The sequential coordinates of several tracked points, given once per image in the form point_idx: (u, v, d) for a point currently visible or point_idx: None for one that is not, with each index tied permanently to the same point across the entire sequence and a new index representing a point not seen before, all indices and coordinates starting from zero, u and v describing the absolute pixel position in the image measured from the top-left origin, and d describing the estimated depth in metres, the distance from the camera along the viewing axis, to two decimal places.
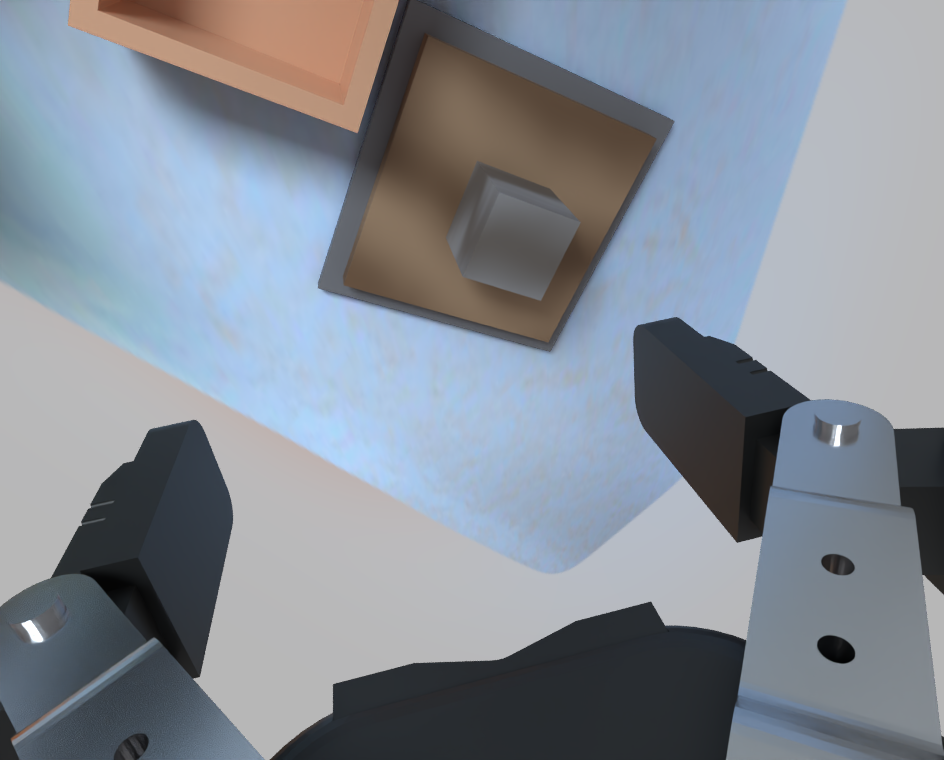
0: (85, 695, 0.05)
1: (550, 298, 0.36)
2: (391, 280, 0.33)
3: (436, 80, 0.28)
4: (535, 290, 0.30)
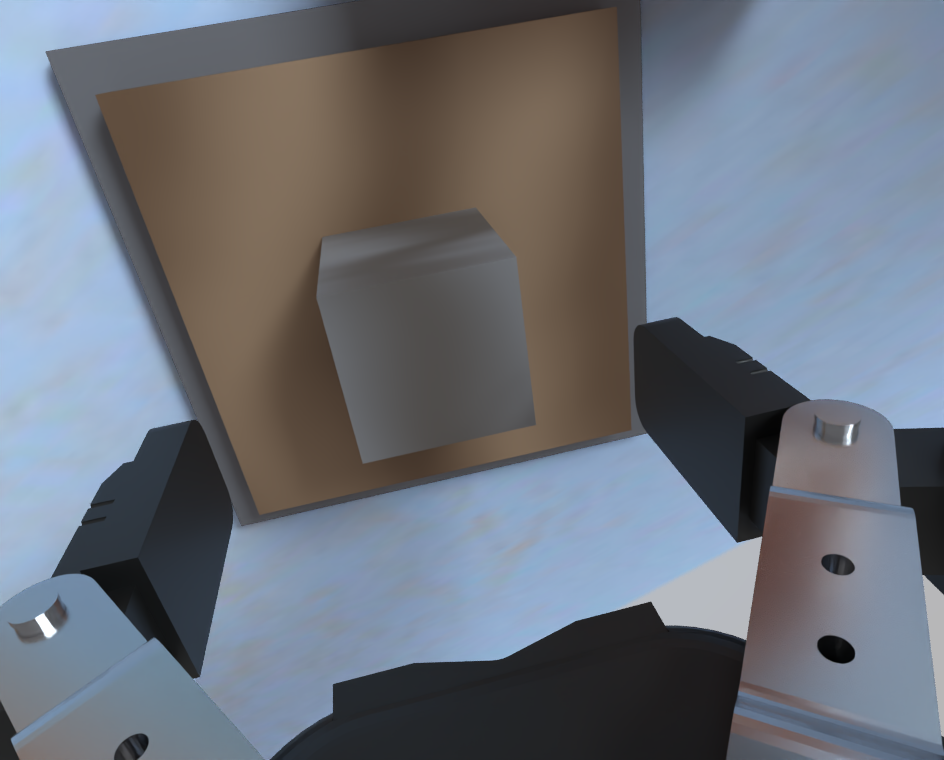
0: (85, 695, 0.05)
1: (333, 465, 0.20)
2: (176, 187, 0.15)
3: (560, 61, 0.16)
4: (375, 441, 0.14)
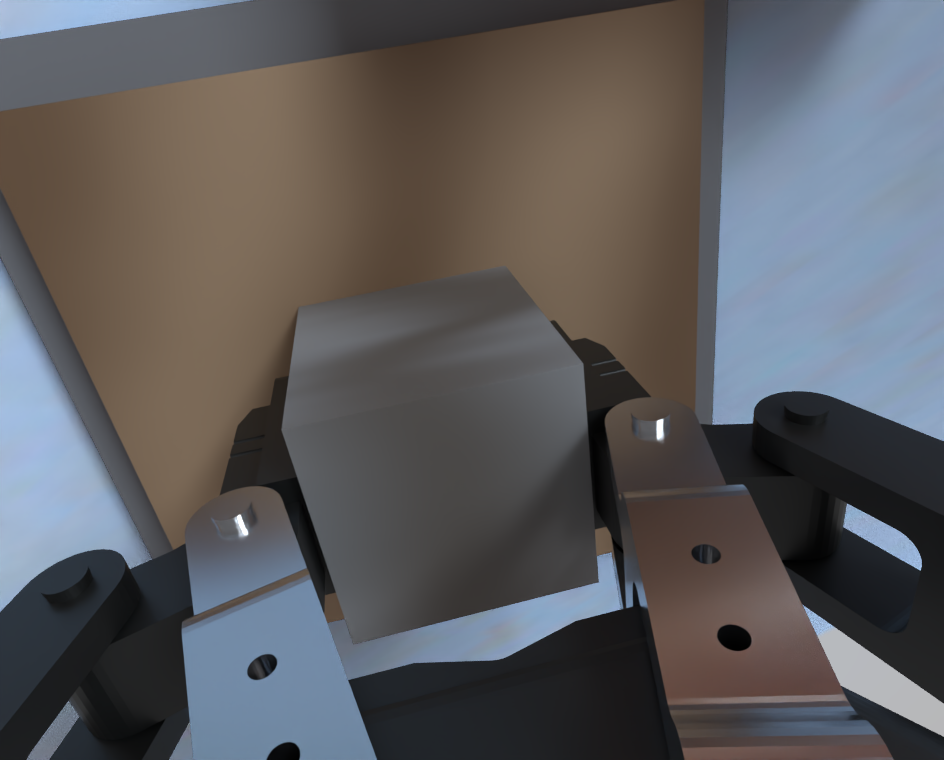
0: (241, 604, 0.06)
1: None
2: (92, 244, 0.11)
3: (624, 70, 0.11)
4: (371, 615, 0.10)
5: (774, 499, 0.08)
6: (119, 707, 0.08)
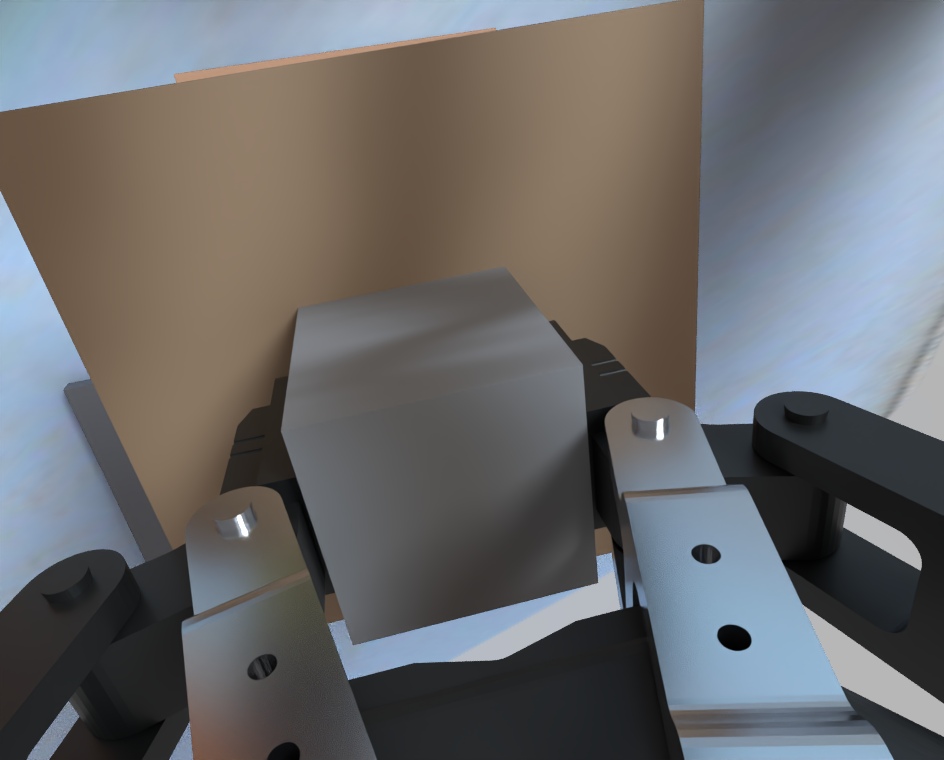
0: (242, 604, 0.06)
1: None
2: (92, 245, 0.11)
3: (624, 71, 0.11)
4: (371, 616, 0.10)
5: (774, 499, 0.08)
6: (119, 707, 0.08)
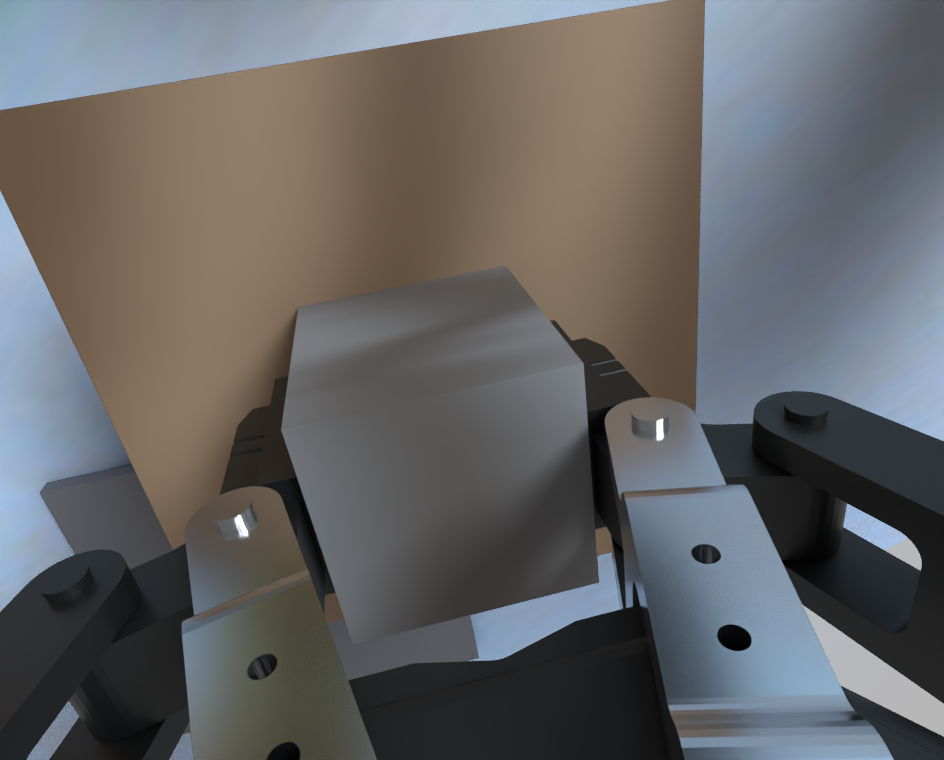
0: (241, 604, 0.06)
1: None
2: (91, 244, 0.11)
3: (624, 69, 0.11)
4: (371, 615, 0.10)
5: (774, 499, 0.08)
6: (119, 707, 0.08)
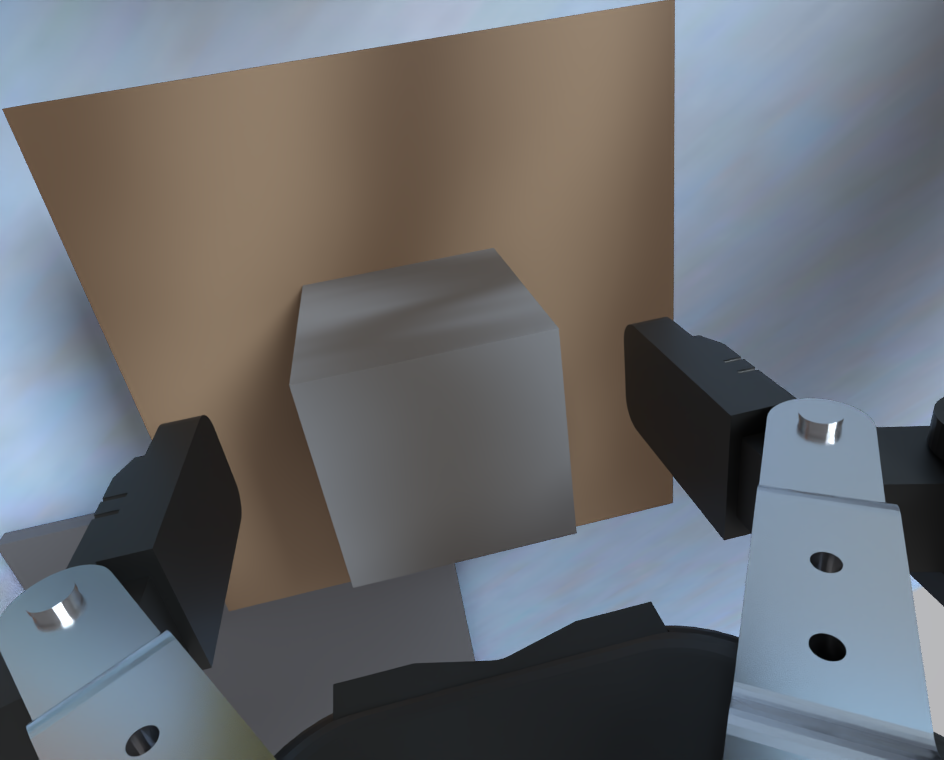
0: (99, 685, 0.05)
1: (317, 553, 0.16)
2: (114, 226, 0.12)
3: (602, 67, 0.12)
4: (369, 561, 0.11)
5: None
6: None
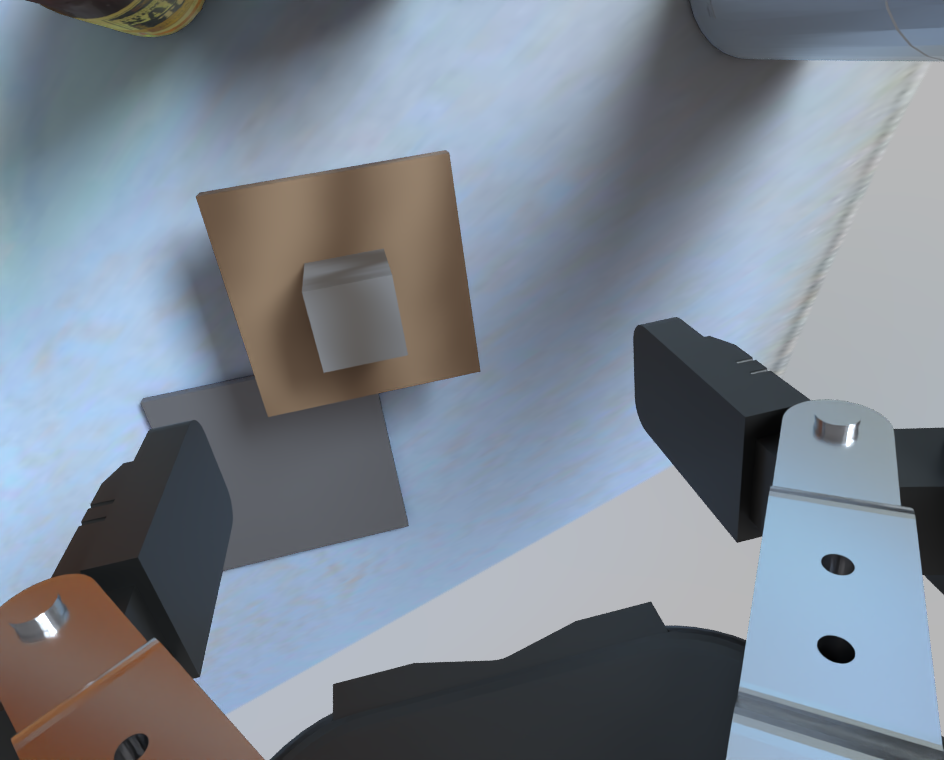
0: (85, 695, 0.05)
1: (309, 388, 0.35)
2: (231, 239, 0.31)
3: (422, 178, 0.32)
4: (329, 361, 0.30)
5: None
6: None
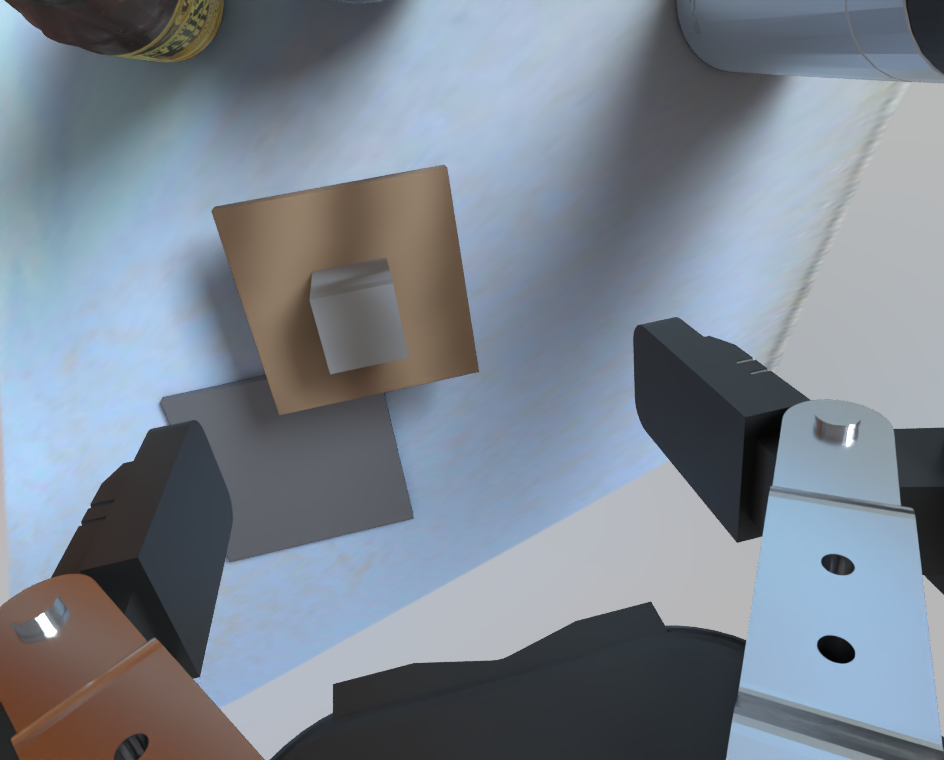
0: (85, 695, 0.05)
1: (318, 388, 0.38)
2: (244, 250, 0.33)
3: (422, 191, 0.34)
4: (335, 363, 0.32)
5: None
6: None
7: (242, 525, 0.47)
